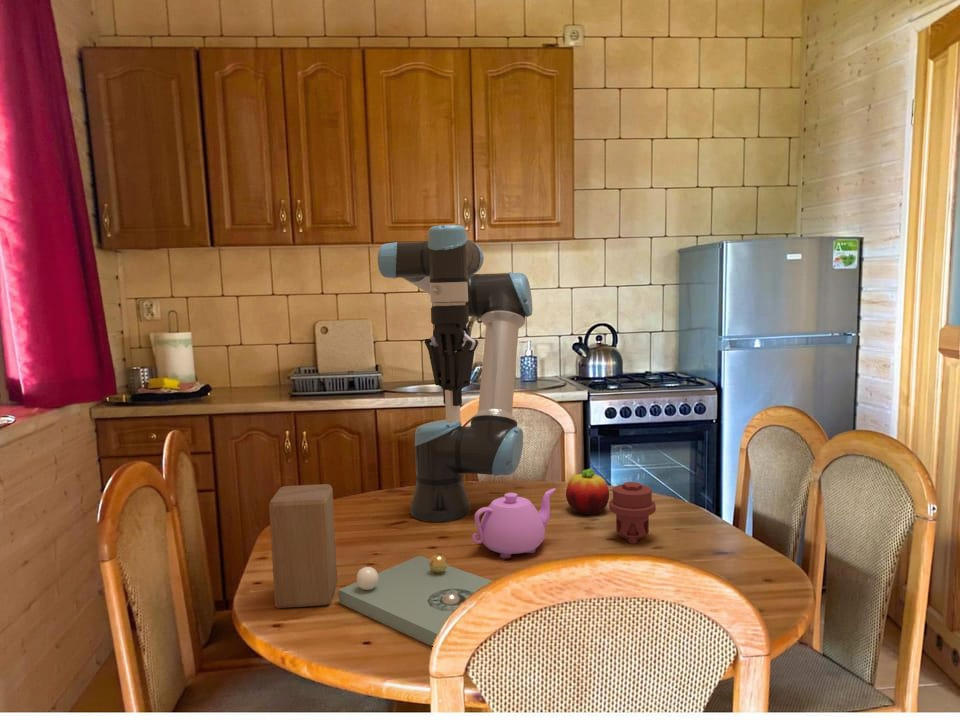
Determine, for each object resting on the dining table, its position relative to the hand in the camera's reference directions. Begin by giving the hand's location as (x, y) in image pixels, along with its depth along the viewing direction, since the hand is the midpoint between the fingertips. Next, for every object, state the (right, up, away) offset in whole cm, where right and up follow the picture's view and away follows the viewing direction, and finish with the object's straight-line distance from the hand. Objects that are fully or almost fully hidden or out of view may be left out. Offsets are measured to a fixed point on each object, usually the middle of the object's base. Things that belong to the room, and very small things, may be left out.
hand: (453, 421), depth 136 cm
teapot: (+13, -29, +9) cm, 33 cm away
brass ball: (-3, -26, -9) cm, 28 cm away
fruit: (+32, -26, +32) cm, 52 cm away
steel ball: (0, -30, -19) cm, 36 cm away
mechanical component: (+39, -27, +13) cm, 49 cm away
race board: (-4, -31, -16) cm, 35 cm away
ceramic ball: (-15, -27, -15) cm, 34 cm away
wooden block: (-27, -32, -11) cm, 43 cm away
